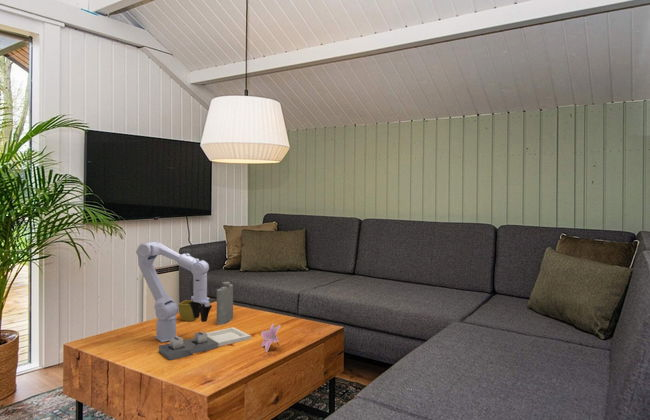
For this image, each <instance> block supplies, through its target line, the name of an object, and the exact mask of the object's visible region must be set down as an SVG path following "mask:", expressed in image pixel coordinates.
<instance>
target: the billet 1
mask: <svg viewBox="0 0 650 420" xmlns="http://www.w3.org/2000/svg"><path fill="white" fill-rule="evenodd" d="M183 340H184V338H183V337H181V336H178V337H174V338H170V341H169V343H170V349H171V350H176V349H180V348H183Z"/></svg>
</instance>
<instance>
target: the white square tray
mask: <svg viewBox="0 0 650 420" xmlns="http://www.w3.org/2000/svg"><path fill="white" fill-rule="evenodd" d="M206 333H207V338H209V339H211V340H213V341H214V342H216V343H217V348H218V347H223V346H226V345H230V344H236V343H240V342H244V341H248V340H251V339H252V336H251V335H250V333H248V332H247V333H246V332H244V331H242V330H240V329H238V328H236V327H228V328H224V329H219V330H214V331H210V332H206Z"/></svg>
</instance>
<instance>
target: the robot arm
mask: <svg viewBox="0 0 650 420" xmlns="http://www.w3.org/2000/svg"><path fill="white" fill-rule="evenodd" d="M136 255H137V260H138V261H137V263H138V264H137V265H138V267H139V269H140V272H141V273H142V276H143V278H144V280H145V281H146V284H147V286H148V288H149V290H150V293H151V294H152V297H153V299H154V300H155V302H154V307H153V308H154V311H155V316H156V318H157V320H156V325H155V326H156V331H155V332H156V335H154V336H153V337H154V338H155V339H157V340H158V341H159V342H161V343H165V342H166V343H167V342H170V338H174V337H179V336H178V335H177V314H178V313H179V307H178V303H177V302H176V301H174V299H173V297H171V296H169V295H168V293H167V291H166V289H165V287H164V284H162V283H163V282H162V280H161V279H160V276H159V275H158V273H157V271H156V269H155V266H154V265H153V264H154V262H155V259H156V258H157V256H160V255H161V256H163V257H166V258H169V259H170V260H173V261H174V262H177V265H178V266H180V267H182V268H184V269H185V270H188V271H189V272H191V274H192V276H193V281H192V282H193V284H192V285H193V291H192V292H193V294H192V295H191V296H190V298H191V299H190V301H192V302H189V304H190V306H191V308H192V312H193V316H194V318H196V319H199V318H200V320H201V323H205V322H207V321H208V317H209V314H210V311H211V309H212V307H213V306H212V305H211V303H210V301H209V300H210V297H208V272H209V270H210V264H209V263H208V262H207V261H205V260H203V259H201V260H200V259H199V258H195V257H193V256H191V254H190V253H182V254H180V253H179V252H177V251H175V250H173V249H172V248H169V247H168V246H166V245H165V244H164V243H162V242H159V241H156V240H152V241H149V242H143V243H140V244H139V245H138V247H137V249H136Z"/></svg>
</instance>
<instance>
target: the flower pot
mask: <svg viewBox="0 0 650 420" xmlns="http://www.w3.org/2000/svg"><path fill="white" fill-rule="evenodd" d="M189 302H192V301H191V300H186V299H185V300H183V301H182V302H180V303H177V305H178V307H179V311H178V313H179V316H180V318H181V320H182V321H186V322H187V321H188V322H193V321H196V319H197V318H194V316H193V312H192V308H191V306H190V304H189Z"/></svg>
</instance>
